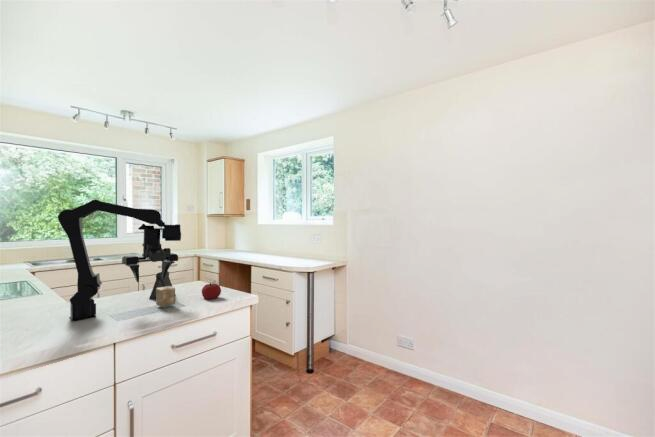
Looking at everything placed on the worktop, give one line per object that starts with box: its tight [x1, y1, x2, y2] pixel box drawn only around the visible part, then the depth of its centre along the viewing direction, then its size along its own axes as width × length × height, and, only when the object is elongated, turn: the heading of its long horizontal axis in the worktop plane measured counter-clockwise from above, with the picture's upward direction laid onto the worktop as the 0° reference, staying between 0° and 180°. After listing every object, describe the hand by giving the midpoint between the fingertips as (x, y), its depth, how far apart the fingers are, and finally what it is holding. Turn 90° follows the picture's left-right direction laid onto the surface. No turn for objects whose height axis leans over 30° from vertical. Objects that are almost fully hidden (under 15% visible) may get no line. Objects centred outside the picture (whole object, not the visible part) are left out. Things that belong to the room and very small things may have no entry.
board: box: [109, 300, 187, 322], centre depth 119 cm, size 24×10×1 cm, turn 139°
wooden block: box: [155, 286, 176, 307], centre depth 123 cm, size 5×5×7 cm
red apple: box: [201, 282, 222, 301], centre depth 137 cm, size 8×8×7 cm
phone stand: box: [148, 271, 176, 300], centre depth 137 cm, size 9×6×12 cm, turn 92°
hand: (150, 280), depth 121 cm, fingers open, 9 cm apart
